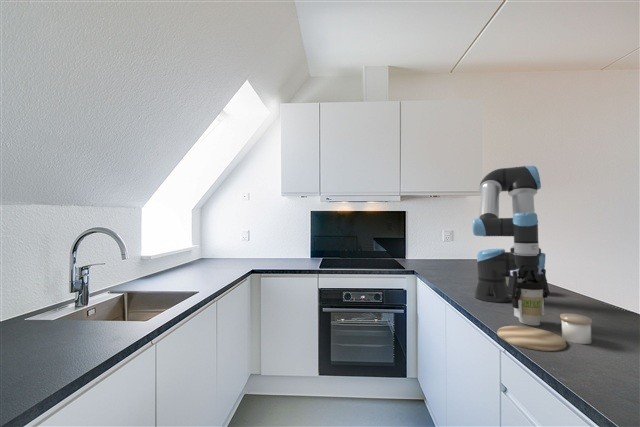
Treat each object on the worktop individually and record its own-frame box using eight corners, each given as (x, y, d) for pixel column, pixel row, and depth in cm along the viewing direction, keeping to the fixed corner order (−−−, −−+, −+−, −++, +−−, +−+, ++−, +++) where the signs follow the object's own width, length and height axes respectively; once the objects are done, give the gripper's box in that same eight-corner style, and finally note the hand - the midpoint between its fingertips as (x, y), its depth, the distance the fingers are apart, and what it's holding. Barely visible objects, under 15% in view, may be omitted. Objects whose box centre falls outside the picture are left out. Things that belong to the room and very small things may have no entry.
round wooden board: (484, 330, 102) (484, 328, 102) (529, 325, 105) (529, 323, 105) (530, 354, 84) (530, 351, 84) (582, 347, 88) (582, 344, 88)
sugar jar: (554, 336, 96) (553, 314, 96) (574, 333, 98) (573, 312, 98) (579, 345, 89) (577, 322, 89) (599, 343, 90) (598, 320, 90)
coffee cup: (507, 320, 111) (506, 280, 111) (522, 316, 115) (521, 277, 116) (536, 329, 102) (535, 285, 102) (551, 323, 107) (550, 282, 107)
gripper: (509, 257, 104) (512, 321, 103) (560, 254, 107) (563, 316, 107) (493, 254, 111) (495, 315, 111) (541, 251, 115) (544, 310, 114)
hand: (529, 315), depth 109 cm, fingers closed on coffee cup, 9 cm apart
